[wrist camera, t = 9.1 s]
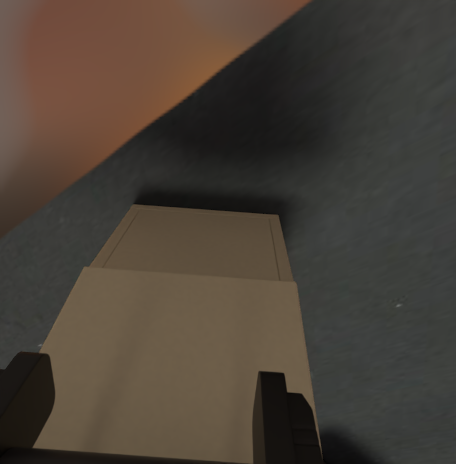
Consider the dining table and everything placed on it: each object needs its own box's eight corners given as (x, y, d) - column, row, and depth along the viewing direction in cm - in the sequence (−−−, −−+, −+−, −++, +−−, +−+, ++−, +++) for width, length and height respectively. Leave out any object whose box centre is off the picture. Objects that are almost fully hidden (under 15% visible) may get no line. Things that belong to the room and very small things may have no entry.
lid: (351, 703, 10) (433, 677, 6) (-113, 670, 9) (-263, 627, 6) (294, 291, 21) (312, 210, 18) (86, 276, 21) (67, 192, 18)
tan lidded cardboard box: (260, 347, 36) (267, 443, 27) (138, 338, 36) (105, 431, 27) (278, 214, 30) (294, 282, 21) (132, 204, 30) (87, 266, 21)
